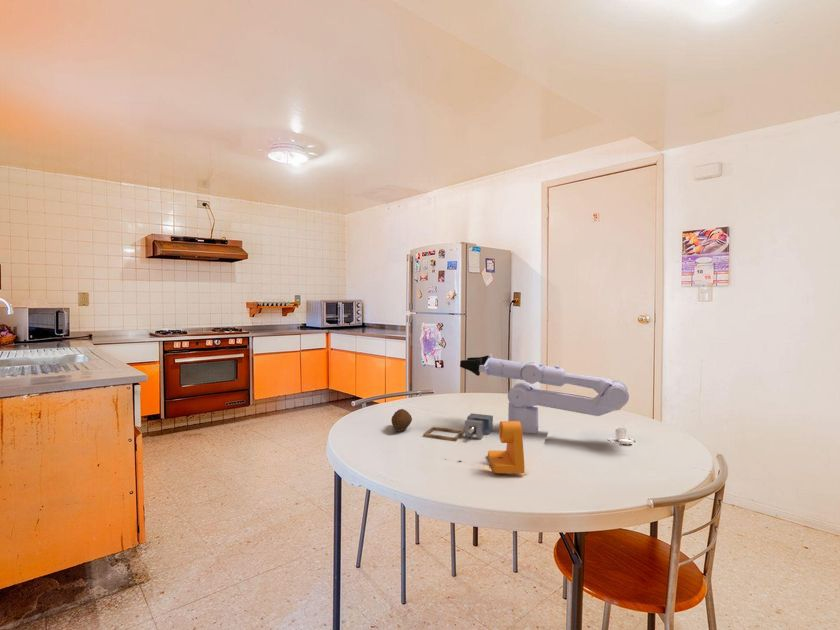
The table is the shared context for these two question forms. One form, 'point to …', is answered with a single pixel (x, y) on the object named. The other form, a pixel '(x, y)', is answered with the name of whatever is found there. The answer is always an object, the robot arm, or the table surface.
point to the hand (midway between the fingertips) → (463, 362)
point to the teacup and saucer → (622, 436)
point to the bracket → (509, 449)
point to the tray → (427, 434)
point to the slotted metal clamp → (474, 424)
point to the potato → (401, 420)
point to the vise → (486, 423)
